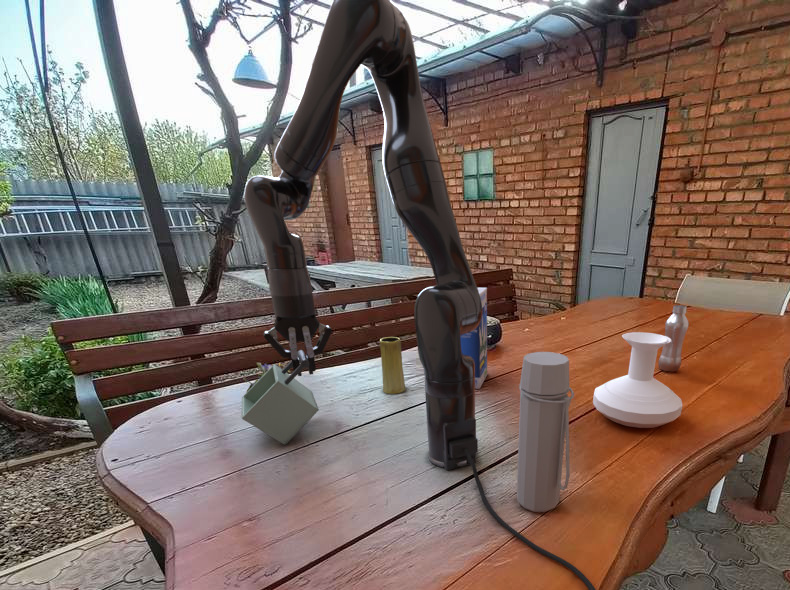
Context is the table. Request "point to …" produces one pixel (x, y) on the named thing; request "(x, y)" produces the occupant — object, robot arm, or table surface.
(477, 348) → the string lights box
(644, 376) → the white flared vase
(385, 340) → the vase
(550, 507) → the water bottle
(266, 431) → the pale green open box
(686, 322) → the plastic bottle
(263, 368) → the passion flower
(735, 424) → the table surface
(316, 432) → the table surface
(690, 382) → the table surface
